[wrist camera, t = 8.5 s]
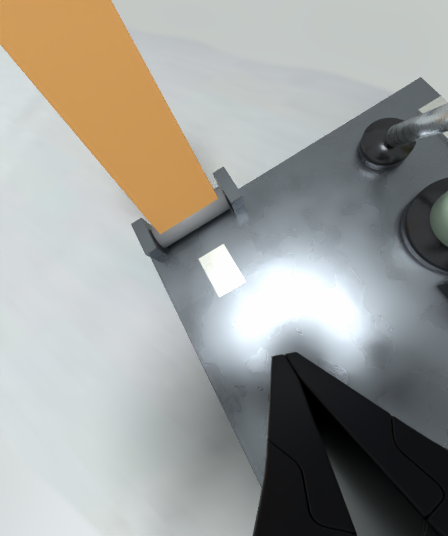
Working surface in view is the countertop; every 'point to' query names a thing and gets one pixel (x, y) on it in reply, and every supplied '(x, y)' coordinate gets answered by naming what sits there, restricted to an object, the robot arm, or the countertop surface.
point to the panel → (324, 274)
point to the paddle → (112, 107)
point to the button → (440, 218)
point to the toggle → (419, 127)
